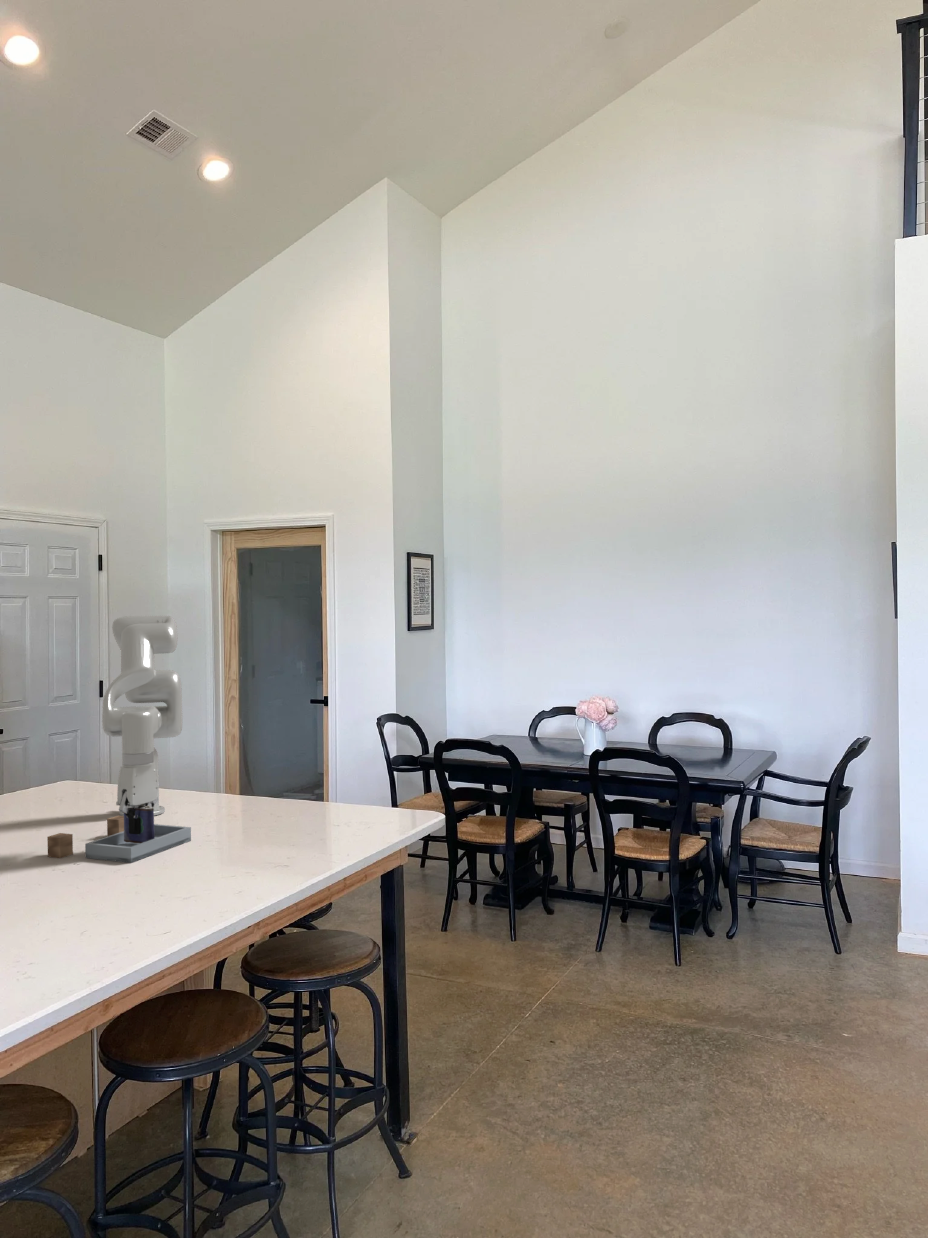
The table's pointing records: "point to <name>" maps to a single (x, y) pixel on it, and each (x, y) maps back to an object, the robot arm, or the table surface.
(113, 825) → the walnut block far
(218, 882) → the table surface
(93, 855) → the tray
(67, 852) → the walnut block near
